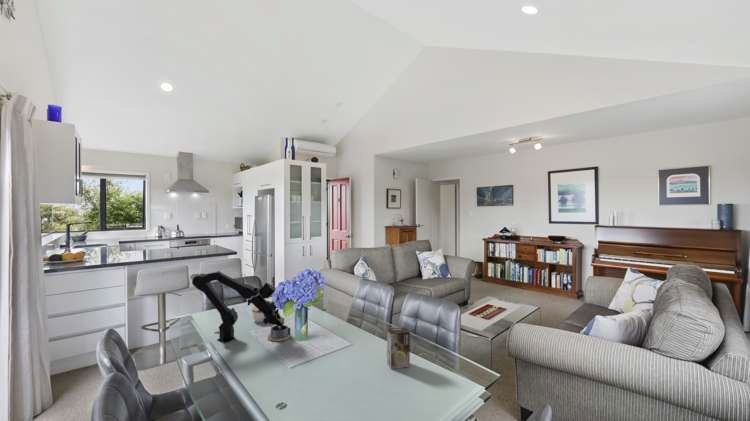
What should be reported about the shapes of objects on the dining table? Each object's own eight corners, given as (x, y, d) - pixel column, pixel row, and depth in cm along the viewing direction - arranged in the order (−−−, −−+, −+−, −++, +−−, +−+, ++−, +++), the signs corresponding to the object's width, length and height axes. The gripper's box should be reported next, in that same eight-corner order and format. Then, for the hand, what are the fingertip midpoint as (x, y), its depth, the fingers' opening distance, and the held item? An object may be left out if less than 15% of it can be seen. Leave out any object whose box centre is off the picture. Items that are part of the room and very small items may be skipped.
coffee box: (404, 361, 151) (405, 327, 151) (409, 367, 145) (410, 332, 145) (386, 363, 149) (387, 328, 149) (390, 369, 143) (391, 333, 143)
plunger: (279, 338, 171) (280, 322, 171) (270, 336, 174) (270, 319, 174) (288, 334, 177) (288, 318, 177) (279, 331, 180) (279, 316, 180)
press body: (280, 343, 168) (280, 333, 168) (262, 338, 173) (263, 329, 173) (295, 335, 178) (295, 326, 178) (278, 331, 184) (278, 322, 184)
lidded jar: (266, 323, 195) (266, 308, 195) (248, 323, 195) (249, 308, 195) (272, 318, 206) (272, 303, 206) (255, 317, 206) (256, 302, 206)
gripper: (270, 298, 166) (291, 319, 168) (275, 289, 184) (294, 308, 186) (253, 314, 164) (275, 334, 166) (260, 303, 183) (280, 322, 185)
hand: (282, 323), depth 176 cm, fingers closed on plunger, 5 cm apart
